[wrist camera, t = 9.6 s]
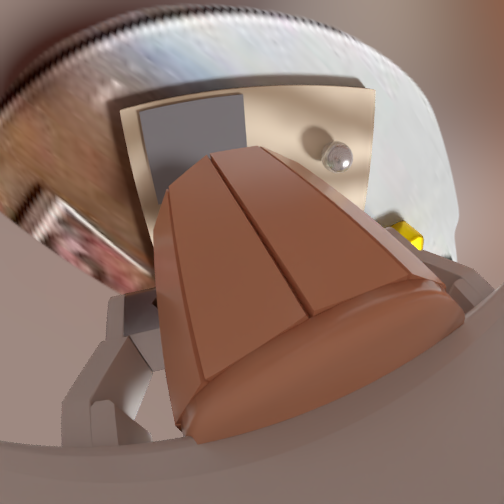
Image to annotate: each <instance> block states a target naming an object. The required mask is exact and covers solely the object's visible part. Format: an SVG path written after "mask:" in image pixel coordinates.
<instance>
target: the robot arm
mask: <svg viewBox="0 0 504 504" xmlns="http://www.w3.org/2000/svg"><path fill="white" fill-rule="evenodd" d="M385 229H386V230H387V231H388V232H389V233H390V234H392V235H393V236H394V237H395V238H396V239H397V240H398V241H400V242H401V243H402V244H403V245H404V246H405V247H406V248H407V249H408V250H410V251H411V252H412V253H413V254H414V255H415V256H416V257H417V258H418V259H419V260H420V261H422V262H423V263H424V264H425V265H426V266H427V267H428V268H429V269H430V270H431V271H432V272H433V273H434V274H435V275H436V276H437V277H438V278H439V279H440V280H441V281H442V282H443V283H444V284H445V286H446V292H447V293H448V294H449V295H450V296H451V297H452V298H453V300H454V301H455V302H456V303H457V304H458V305H459V306H460V307H461V308H462V309H463V311H464V313H465V320H464V324H463V325H461V326H460V327H459V328H457V329H456V330H455V331H453V332H452V333H451V334H449V335H448V336H447V337H445V338H444V339H442V340H441V341H439V342H438V343H437V344H435V345H434V346H432V347H431V348H429V349H428V350H426V351H425V352H423V353H422V354H420V355H418V356H417V357H415V358H414V359H412V360H410V361H409V362H407V363H406V364H404V365H402V366H401V367H399V368H397V369H395V370H394V371H392V372H390V373H388V374H387V375H385V376H383V377H381V378H379V379H377V380H376V381H374V382H372V383H370V384H368V385H366V386H364V387H362V388H360V389H358V390H356V391H354V392H352V393H350V394H348V395H346V396H343V397H341V398H339V399H337V400H335V401H332V402H330V403H328V404H326V405H323V406H321V407H318V408H316V409H314V410H311V411H309V412H306V413H304V414H301V415H298V416H296V417H293V418H290V419H287V420H285V421H282V422H279V423H276V424H273V425H270V426H267V427H264V428H260V429H257V430H254V431H250V432H247V433H243V434H240V435H236V436H232V437H228V438H224V439H220V440H216V441H212V442H207V443H202V444H198V445H197V443H196V441H195V440H194V439H193V437H191V436H186V437H181V438H175V439H169V440H163V441H155V442H153V441H152V436H151V433H149V432H148V431H147V430H145V429H144V428H143V427H142V426H140V425H139V424H138V423H137V422H135V421H134V420H135V417H136V415H137V412H138V409H139V407H140V404H141V402H142V399H143V397H144V394H145V392H146V389H147V387H148V385H149V382H150V380H151V377H152V375H153V371H158V370H162V369H165V365H164V358H163V351H162V344H161V335H160V326H159V316H158V307H157V294H156V287H155V288H150V289H145V290H141V291H136V292H131V293H127V294H123V295H119V296H114V297H111V298H110V300H109V302H108V313H107V326H106V327H107V328H106V341H102V342H101V343H100V344H99V346H98V347H97V349H96V350H95V352H94V353H93V355H92V356H91V358H90V359H89V361H88V362H87V364H86V365H85V367H84V369H83V370H82V371H81V373H80V375H79V376H78V378H77V379H76V381H75V382H74V384H73V385H72V387H71V389H70V390H69V392H68V394H67V395H66V397H65V399H64V400H63V402H62V416H61V433H62V434H61V436H62V447H57V446H41V445H29V444H20V443H13V442H6V441H0V504H504V283H502V284H501V285H500V286H499V287H498V288H497V289H496V290H494V288H493V287H491V285H490V284H488V282H487V281H485V280H484V279H483V278H482V277H481V276H480V275H479V274H478V273H477V272H476V271H475V270H474V269H472V268H469V267H467V266H464V265H462V264H459V263H457V262H454V261H452V260H449V259H446V258H444V257H441V256H438V255H436V254H433V253H430V252H428V251H425V250H419V249H417V248H416V247H415V246H414V245H413V244H412V243H411V242H409V241H408V240H407V239H406V238H405V237H403V236H402V235H401V234H400V233H399V232H398V231H396V230H395V229H394V228H392V227H386V228H385Z"/></svg>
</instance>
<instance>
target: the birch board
mask: <svg viewBox="0 0 504 504" xmlns="http://www.w3.org/2000/svg"><path fill="white" fill-rule="evenodd" d="M238 94H243V99H244V112H245V126H246V140H247V147H251V146H259V147H260V146H262V147H264V148H267V149H269V150H271V151H273V152H276V153H278V154H280V155H283V156H285V157H287V158H289V159H291V160H294V161H296V162H298V163H299V164H301V165H302V166H304V167H305V168H307V169H308V170H309V171H311V172H312V173H314V174H315V175H316V176H318V177H319V178H321V179H322V180H323V181H325V182H326V183H327V184H329V185H330V186H332V187H333V188H334V189H336V190H337V191H338V192H340V193H341V194H342V195H344V196H345V197H346V198H347V199H349V200H350V201H351V202H353V203H354V204H355V205H356V206H358V207H359V208H360V209H361V210H363V211H364V208H365V201H366V194H367V187H368V179H369V171H370V162H371V152H372V141H373V128H374V112H375V90H374V89H368V88H361V87H349V86H332V85H268V86H251V87H239V88H229V89H220V90H212V91H205V92H198V93H192V94H186V95H180V96H175V97H170V98H165V99H160V100H155V101H151V102H147V103H142V104H138V105H134V106H130V107H127V108H123V109H121V110H120V115H121V121H122V126H123V131H124V136H125V141H126V146H127V150H128V155H129V159H130V163H131V168H132V172H133V176H134V180H135V184H136V188H137V192H138V196H139V199H140V203H141V207H142V210H143V214H144V217H145V221H146V224H147V227H148V231H149V234H150V237H151V241H152V244H153V229H154V226H155V223H156V219H157V216H158V213H159V210H160V207H161V204H159V205H158V201H157V197H156V192H155V188H154V184H153V179H152V175H151V170H150V166H149V161H148V156H147V151H146V146H145V141H144V136H143V131H142V125H141V119H140V113H139V112H140V111H144V110H148V109H152V108H157V107H161V106H166V105H171V104H176V103H182V102H187V101H193V100H199V99H206V98H213V97H221V96H229V95H238ZM332 141H340V142H343V143H345V144H346V145H347V146H349V148H350V149H351V151H352V153H353V163H352V165H351V167H350V168H349V169H348V170H347V171H345V172H343V173H332V172H330V171H328V170H327V169H326V168H325V167H324V166H323V164H322V161H321V151H322V149H323V147H324V146H325V145H326V144H328V143H330V142H332ZM153 247H154V244H153Z"/></svg>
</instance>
